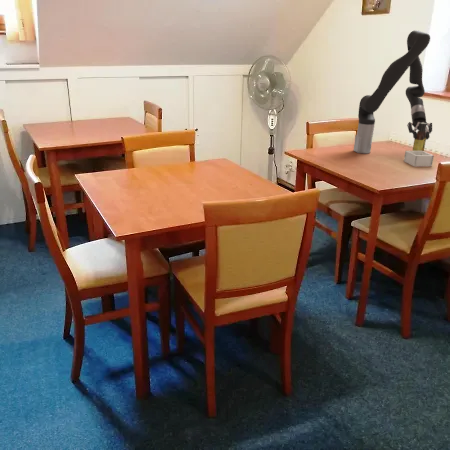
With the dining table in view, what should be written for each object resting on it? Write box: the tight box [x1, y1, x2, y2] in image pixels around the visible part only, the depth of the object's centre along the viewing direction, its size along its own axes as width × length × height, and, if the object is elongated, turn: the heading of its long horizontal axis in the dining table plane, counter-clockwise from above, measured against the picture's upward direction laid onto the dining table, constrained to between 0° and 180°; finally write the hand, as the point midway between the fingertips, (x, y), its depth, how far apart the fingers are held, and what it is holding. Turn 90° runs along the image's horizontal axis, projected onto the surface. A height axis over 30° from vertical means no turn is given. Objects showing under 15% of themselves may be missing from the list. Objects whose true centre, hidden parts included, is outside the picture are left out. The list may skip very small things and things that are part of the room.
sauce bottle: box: [412, 122, 428, 151], centre depth 267 cm, size 6×6×20 cm
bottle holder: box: [403, 150, 435, 167], centre depth 256 cm, size 10×11×6 cm
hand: (421, 138), depth 265 cm, fingers closed on sauce bottle, 6 cm apart
